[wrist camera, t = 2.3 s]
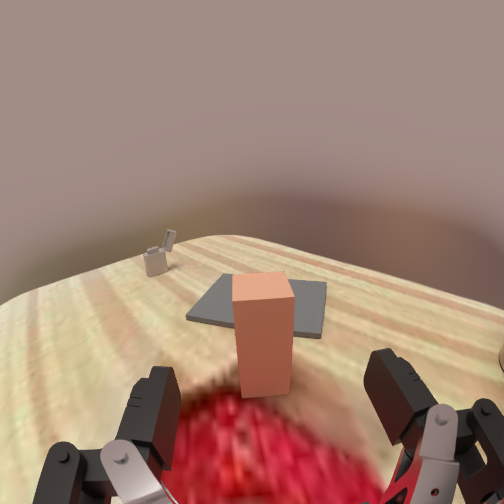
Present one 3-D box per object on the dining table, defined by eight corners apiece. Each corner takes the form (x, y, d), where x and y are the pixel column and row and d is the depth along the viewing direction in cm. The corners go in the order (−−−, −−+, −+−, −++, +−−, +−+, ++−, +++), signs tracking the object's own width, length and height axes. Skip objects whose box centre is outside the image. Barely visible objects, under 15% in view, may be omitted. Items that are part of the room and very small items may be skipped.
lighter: (149, 277, 49) (142, 237, 47) (146, 274, 51) (139, 235, 48) (181, 267, 54) (176, 229, 51) (177, 264, 55) (172, 227, 52)
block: (282, 363, 27) (284, 270, 24) (289, 394, 23) (294, 296, 19) (240, 366, 27) (232, 274, 23) (241, 398, 23) (232, 301, 19)
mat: (326, 286, 43) (326, 282, 43) (320, 338, 31) (320, 333, 31) (223, 277, 48) (223, 273, 48) (186, 319, 36) (185, 314, 36)
